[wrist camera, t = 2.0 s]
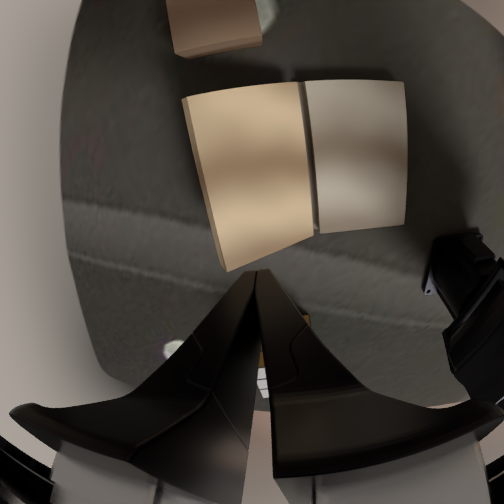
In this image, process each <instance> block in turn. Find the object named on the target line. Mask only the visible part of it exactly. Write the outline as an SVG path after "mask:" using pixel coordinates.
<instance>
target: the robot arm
mask: <svg viewBox="0 0 504 504" xmlns="http://www.w3.org/2000/svg"><path fill="white" fill-rule="evenodd" d="M482 240H483V235H482V234H481V233H465V234H457V235H454V236H448V237H440V238H436V239H435V240H434V243H433V248H432V253H431V258H430V263H429V267H428V272H427V276H426V280H425V284H424V288H423V292H424V294H425V295H431V294H436V293H438V295H439V296H440V298H441V299H442V301H443V303H444V304H445V306H446V307H447V309H448V311H449V312H450V314H451V316H452V317H453V319H454V321H453V322H452V323H451V324H450V326H449V327H448V328H446V329H445V330H444V331H443V332H442V335H443V339H444V343H445V348H446V352H447V356H448V361H449V365H450V370H451V372H452V374H453V375H454V377H455V378H456V379H457V380H458V381H459V382H460V383H461V384H462V385H464V387H465V388H466V390H467V392H468V394H469V396H470V398H471V399H470V400H467V401H465V402H462V403H460V404H458V405H455V406H452V407H448V408H441V409H435V408H434V409H432V408H426V407H422V406H418V405H415V404H411V403H407V402H404V401H401V400H397V399H394V398H391V397H388V396H384V395H381V394H378V393H375V392H373V391H371V390H370V389H368V388H367V387H365V386H364V385H363V384H362V383H361V382H360V381H358V380H357V379H356V378H355V377H354V376H353V374H352V373H351V372H350V371H349V370H348V369H347V368H346V367H345V366H344V365H343V364H342V363H341V362H340V361H339V360H338V359H337V358H336V357H335V356H334V355H333V354H332V353H331V352H330V351H329V350H328V349H327V348H326V346H325V345H324V344H323V343H322V342H321V340H320V339H319V338H318V337H317V335H316V334H315V333H314V331H313V330H312V328H311V327H310V326H309V325H308V323H307V321H306V320H305V319H304V317H303V316H302V314H301V313H300V311H299V310H298V309H297V307H296V306H295V304H294V303H293V301H292V300H291V299H290V297H289V296H288V294H287V293H286V292H285V290H284V289H283V287H282V286H281V284H280V283H279V282H278V280H277V279H276V277H275V276H274V274H273V273H272V272H271V270H270V269H259V270H257V271H256V270H250V271H244V272H243V273H242V275H241V276H240V277H239V278H238V279H237V281H236V282H235V283H234V284H233V285H232V286H231V288H230V289H229V290H228V291H227V292H226V294H225V295H224V296H223V297H222V298H221V299H220V301H219V302H218V303H217V304H216V305H215V306H214V308H213V309H212V310H211V311H210V312H209V314H208V315H207V316H206V317H205V318H204V319H203V321H202V322H201V323H200V324H199V325H198V326H197V328H196V329H195V330H194V331H193V334H191V335H190V336H189V337H188V338H187V339H186V340H185V342H184V343H183V344H182V345H181V346H180V347H179V348H178V349H177V350H176V351H175V352H174V353H173V354H172V355H171V356H170V357H169V358H168V359H167V360H166V361H165V362H164V363H163V364H162V365H161V366H160V367H159V368H158V369H157V370H156V371H155V372H154V373H152V374H151V375H150V376H149V377H148V378H147V379H146V380H145V381H144V382H143V383H142V384H141V385H139V386H138V387H137V388H136V389H135V390H134V391H132V392H131V393H129V394H127V395H125V396H123V397H120V398H117V399H112V400H107V401H102V402H97V403H91V404H85V405H79V406H72V407H65V408H48V407H43V406H41V405H38V404H35V403H28V404H23V405H20V406H17V407H15V408H14V409H12V410H11V411H10V412H9V415H10V416H11V418H12V419H13V420H15V421H16V422H17V423H18V424H19V425H20V426H21V427H23V428H24V429H25V430H27V431H28V432H29V433H31V434H32V435H34V436H35V437H36V438H37V439H39V440H40V441H42V442H43V443H44V444H46V445H48V446H49V447H50V448H52V449H53V450H55V451H57V453H56V456H55V459H54V462H53V465H52V468H49V467H47V466H45V465H44V464H42V463H40V462H38V461H36V460H35V459H33V458H32V457H30V456H29V455H27V454H26V453H24V452H23V451H21V450H20V449H18V448H17V447H15V446H14V445H12V444H11V443H9V442H8V441H7V440H6V439H4V438H3V437H2V436H0V504H241V502H242V495H243V487H244V481H245V474H246V466H247V459H248V450H249V444H250V436H251V428H252V420H253V412H254V404H255V396H256V387H257V379H258V370H259V361H260V352H261V345H262V352H263V359H264V366H265V374H266V381H267V388H268V395H269V402H270V413H271V439H272V465H273V478H274V480H275V482H276V483H277V484H278V486H279V488H280V490H281V491H282V493H283V494H284V496H285V497H286V499H287V501H288V502H289V504H504V455H503V456H501V457H500V458H498V459H496V460H495V461H493V462H492V463H490V464H488V465H486V466H485V462H484V458H483V454H482V451H481V448H480V444H479V441H480V440H482V439H483V438H484V437H485V436H487V435H488V434H489V433H490V432H491V431H493V430H494V429H495V428H496V427H497V426H498V425H499V424H501V423H502V421H503V420H504V259H502V258H501V257H500V258H499V259H498V261H497V262H496V260H495V255H494V253H493V252H492V251H491V250H490V249H489V248H488V247H487V246H486V245H485V244H484V243H483V242H482ZM439 242H440V243H439ZM438 243H439V244H438ZM427 290H428V291H427Z"/></svg>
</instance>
